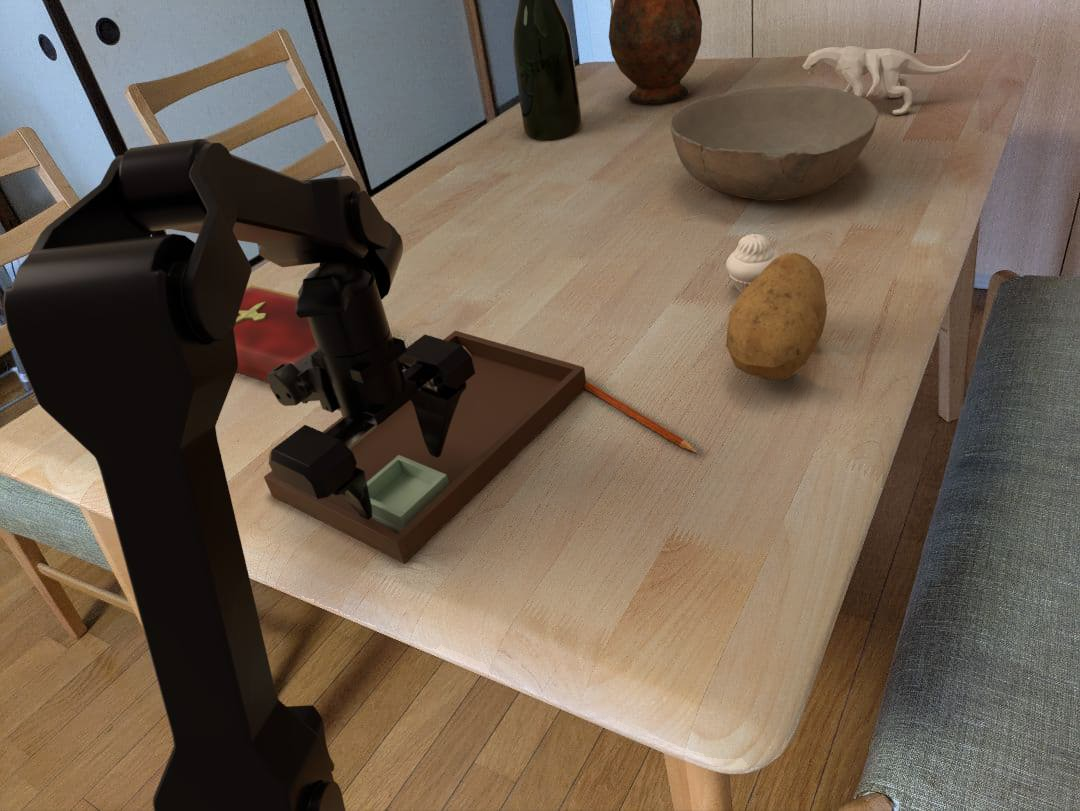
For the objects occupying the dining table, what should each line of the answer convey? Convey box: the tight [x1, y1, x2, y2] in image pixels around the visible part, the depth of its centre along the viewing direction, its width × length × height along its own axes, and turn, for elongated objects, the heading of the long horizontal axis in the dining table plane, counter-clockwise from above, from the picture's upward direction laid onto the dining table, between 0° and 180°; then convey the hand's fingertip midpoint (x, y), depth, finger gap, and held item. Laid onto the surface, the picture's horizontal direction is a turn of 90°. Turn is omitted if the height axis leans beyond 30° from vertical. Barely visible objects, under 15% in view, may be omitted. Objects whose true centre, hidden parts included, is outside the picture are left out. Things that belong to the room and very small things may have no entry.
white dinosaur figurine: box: [802, 45, 972, 116], centre depth 135 cm, size 12×25×10 cm, turn 76°
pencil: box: [584, 380, 697, 453], centre depth 82 cm, size 1×18×1 cm, turn 37°
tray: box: [263, 330, 587, 564], centre depth 82 cm, size 28×18×2 cm, turn 144°
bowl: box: [669, 85, 879, 201], centre depth 118 cm, size 28×28×10 cm
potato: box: [725, 252, 828, 380], centre depth 83 cm, size 9×16×9 cm, turn 149°
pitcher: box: [608, 0, 703, 106], centre depth 149 cm, size 17×21×30 cm
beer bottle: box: [512, 0, 582, 141], centre depth 141 cm, size 10×10×33 cm
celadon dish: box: [367, 455, 449, 532], centre depth 74 cm, size 6×6×2 cm
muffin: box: [725, 233, 781, 294], centre depth 95 cm, size 6×6×7 cm
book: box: [234, 284, 317, 383], centre depth 100 cm, size 12×21×4 cm, turn 57°
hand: (402, 485), depth 74 cm, fingers open, 9 cm apart
